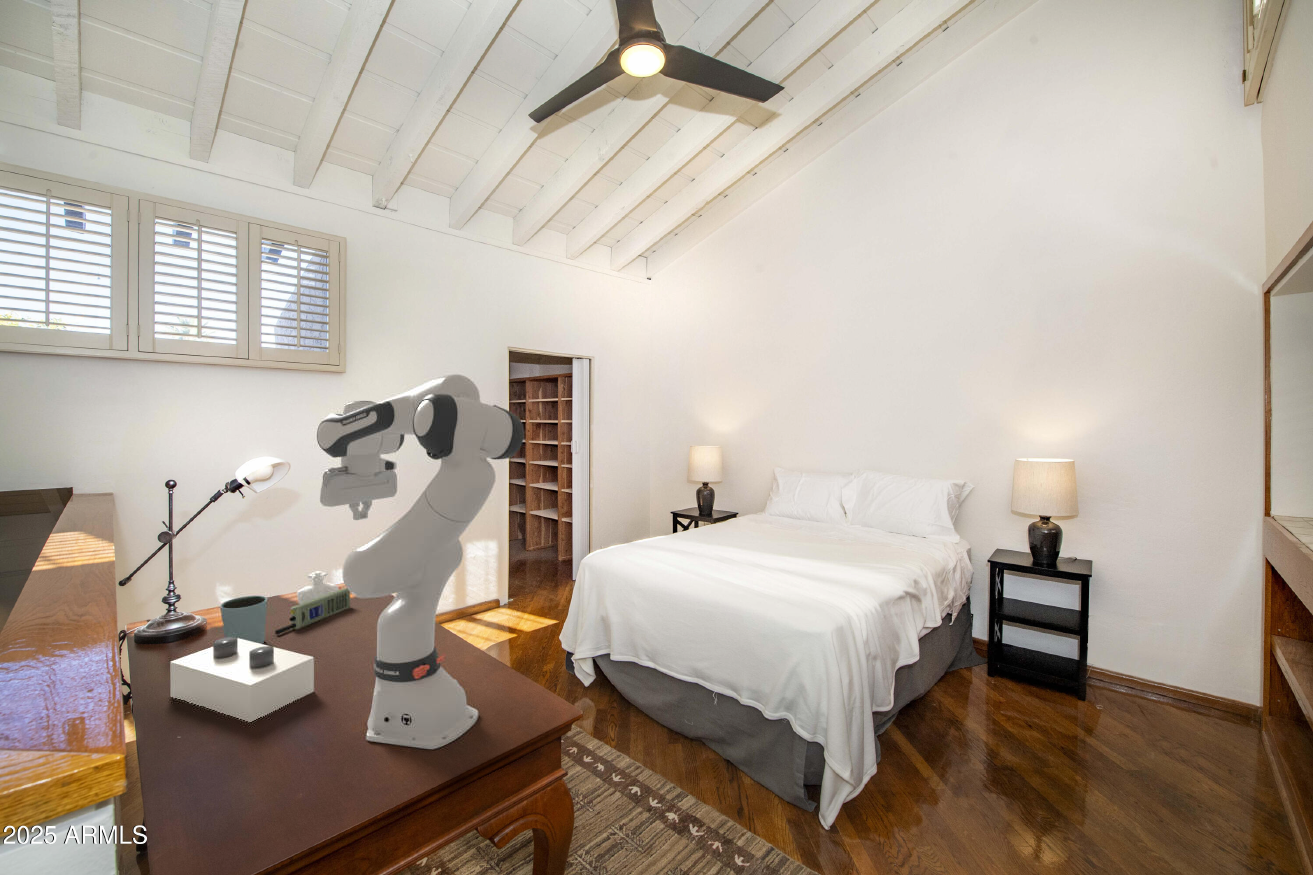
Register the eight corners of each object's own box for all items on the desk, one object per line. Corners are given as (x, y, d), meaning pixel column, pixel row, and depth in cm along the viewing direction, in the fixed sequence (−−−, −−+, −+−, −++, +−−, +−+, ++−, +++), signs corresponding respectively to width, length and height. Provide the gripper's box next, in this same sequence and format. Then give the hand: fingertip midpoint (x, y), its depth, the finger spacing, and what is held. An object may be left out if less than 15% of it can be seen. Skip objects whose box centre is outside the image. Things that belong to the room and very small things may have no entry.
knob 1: (242, 667, 127) (242, 639, 127) (221, 676, 123) (221, 646, 122) (229, 664, 128) (229, 635, 128) (208, 672, 124) (208, 643, 124)
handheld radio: (352, 608, 178) (281, 637, 154) (343, 607, 179) (272, 636, 155) (351, 587, 178) (280, 614, 154) (343, 587, 179) (271, 613, 155)
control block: (313, 691, 126) (313, 657, 125) (250, 722, 113) (250, 684, 112) (237, 669, 135) (237, 637, 134) (170, 696, 122) (170, 661, 121)
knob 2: (278, 677, 123) (278, 648, 122) (258, 686, 119) (258, 656, 118) (264, 674, 124) (264, 644, 124) (244, 682, 120) (244, 652, 120)
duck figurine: (338, 605, 186) (335, 574, 191) (341, 597, 181) (338, 565, 186) (296, 612, 178) (294, 580, 183) (298, 604, 173) (296, 570, 178)
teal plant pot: (276, 638, 153) (276, 596, 152) (245, 654, 143) (245, 609, 142) (243, 636, 154) (242, 594, 154) (210, 651, 144) (210, 606, 143)
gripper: (333, 469, 128) (332, 527, 128) (401, 462, 147) (401, 513, 148) (313, 467, 130) (313, 525, 131) (383, 461, 149) (383, 511, 150)
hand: (360, 519), depth 139 cm, fingers closed
